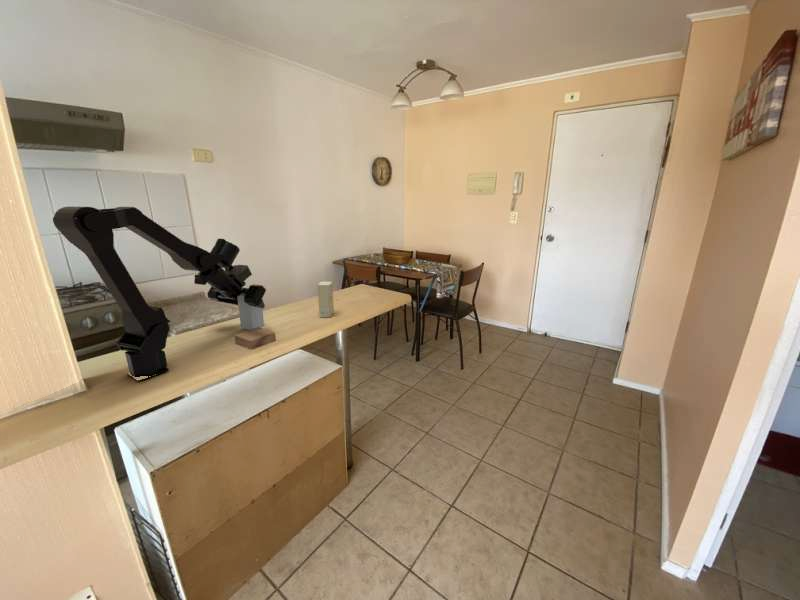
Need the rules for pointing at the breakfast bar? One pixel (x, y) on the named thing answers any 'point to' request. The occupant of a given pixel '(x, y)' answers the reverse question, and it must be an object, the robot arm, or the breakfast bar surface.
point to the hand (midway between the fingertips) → (252, 305)
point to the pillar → (249, 315)
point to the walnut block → (254, 338)
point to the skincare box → (325, 299)
